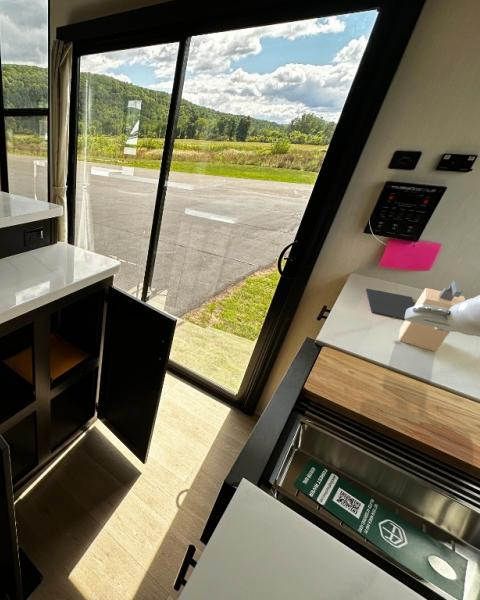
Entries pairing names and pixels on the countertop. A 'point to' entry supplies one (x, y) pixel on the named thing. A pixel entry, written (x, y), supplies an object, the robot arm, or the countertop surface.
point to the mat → (389, 303)
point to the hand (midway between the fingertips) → (441, 328)
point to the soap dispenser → (424, 333)
